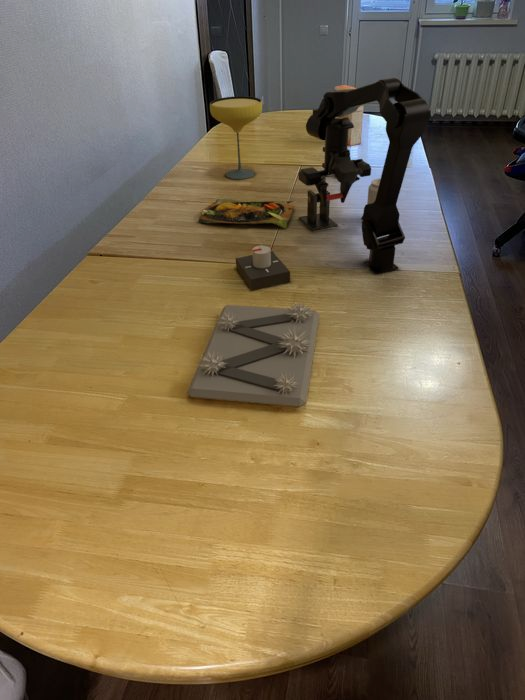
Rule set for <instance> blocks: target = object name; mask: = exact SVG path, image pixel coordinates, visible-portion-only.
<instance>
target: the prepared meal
mask: <svg viewBox="0 0 525 700" xmlns="http://www.w3.org/2000/svg"><path fill="white" fill-rule="evenodd" d="M293 202H295V200H291V201H290V200H289V201H288V200H286V201H285V200H269V201H265V200H264V201H241V200H235V199H229V198H217V199H216V200H215V201H214V202H212V203H211V204H210V205H208V206H206V207H205V208H204V209H203V210H202V212H201V213H200V215H199V217H198V223H203V224H234V225H261V224H274V225H276V226H277V227H280V228H283V229H285V230H287V228H288V222H289V220H290V218H291V217H292V215H293V212H294V210H295V208H296V207H297V206H296V205H295V204H291V203H293Z"/></svg>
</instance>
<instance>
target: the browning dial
mask: <svg viewBox="0 0 525 700" xmlns="http://www.w3.org/2000/svg"><path fill="white" fill-rule="evenodd" d="M271 251H272V250H271V247H269V246H267V245H257V246H255V247H253V248H252V255H253V266H254V267H256V268H261V269H262V268H267V267H269V266H270V265H271Z"/></svg>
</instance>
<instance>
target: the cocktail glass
mask: <svg viewBox="0 0 525 700" xmlns="http://www.w3.org/2000/svg"><path fill="white" fill-rule="evenodd" d="M262 101H263V100H262V99H260V98H259V97H254V96H247V95H244V96H243V95H240V96H239V95H238V96H225V97H220V98H216V99H214V100H212V101H210V102H209V111H210V115H211V117H212V118H214V120H216V121H218V122H219V123H222V124H223V125H226V126H228V127H229V128H231V130H233V132H234V133H236V140H237V141H236V142H237V157H238V159H237V162H238V163H237V169H232V170H229V171H227V172H225V176H226V178H228V179H231V180H238V181H239V180H247V179H250V178H253V177H254V176H255V174H256V173H255V172H254V170H252V169H245V168H242V162H241V152H240V151H241V149H240V134H239V133H241V132H242V130H243V129H244V127H245V126H247V125H248V124H250V123H252V122H253V121H255V120H256V119H258V118H259V117H260V115H261V114H262V112H263V102H262Z"/></svg>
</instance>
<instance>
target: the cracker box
mask: <svg viewBox="0 0 525 700" xmlns="http://www.w3.org/2000/svg"><path fill="white" fill-rule="evenodd" d="M345 89H357V87H354V86H351V85H347V84H344V85H336V86H334V91H338V90H345ZM364 106H365V105H363V106H360V107H359V108H358V109H357V110H356V111H355V112H353V113H351V114H349V115H345V116H341V117H335V119H336V118H340V119H342V118H349V120H350V121H351V122H352V123H353V125H354V128H351V129H349V130H348V147H352V146H356V145H361V144H362V135H363V119H364Z"/></svg>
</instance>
